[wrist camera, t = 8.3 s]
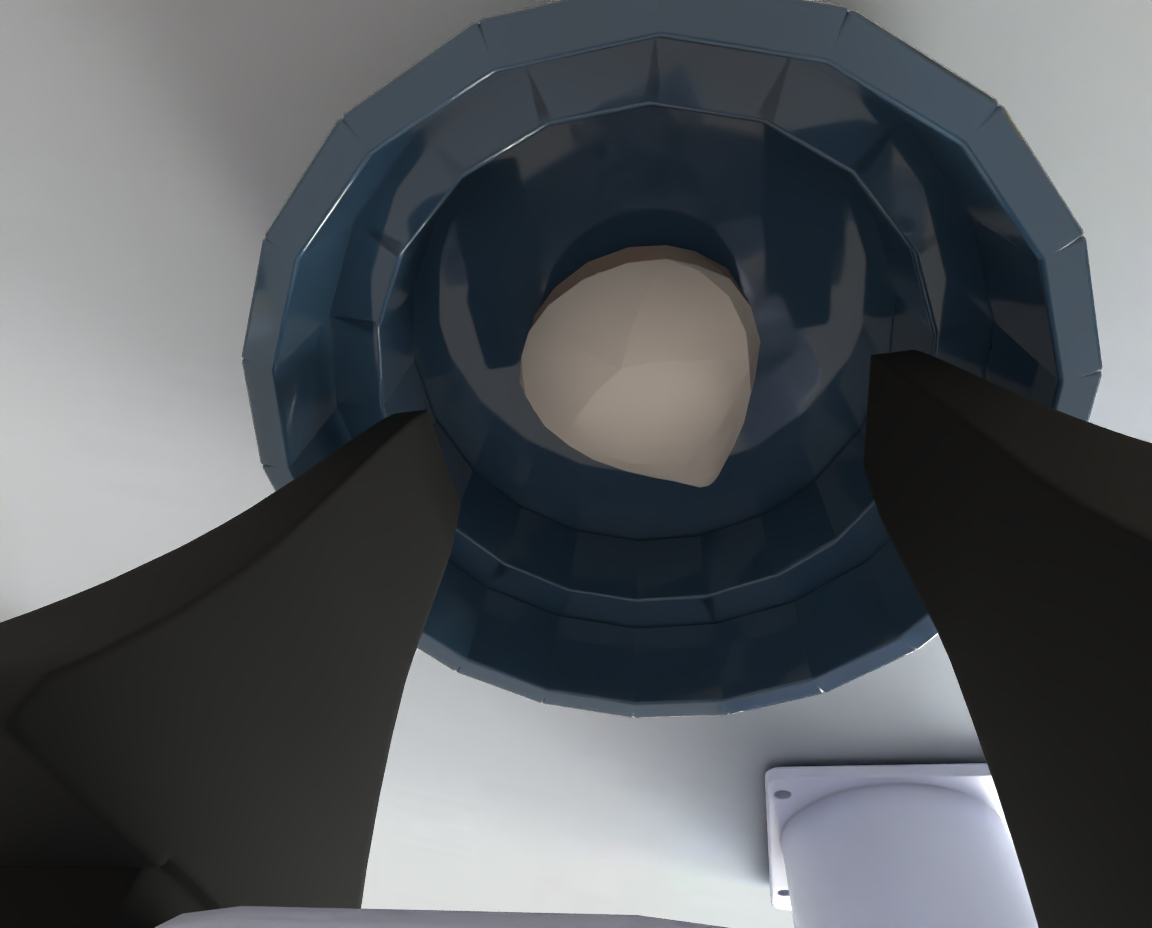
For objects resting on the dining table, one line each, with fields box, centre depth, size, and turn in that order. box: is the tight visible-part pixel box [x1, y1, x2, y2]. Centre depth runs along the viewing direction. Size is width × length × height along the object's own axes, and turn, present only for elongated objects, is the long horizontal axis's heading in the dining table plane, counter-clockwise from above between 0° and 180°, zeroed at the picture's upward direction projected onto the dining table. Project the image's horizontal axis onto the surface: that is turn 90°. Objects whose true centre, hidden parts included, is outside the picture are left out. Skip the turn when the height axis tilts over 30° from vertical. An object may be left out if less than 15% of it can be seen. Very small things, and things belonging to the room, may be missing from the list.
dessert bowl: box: [242, 0, 1102, 718], centre depth 12 cm, size 12×12×4 cm
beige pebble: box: [520, 245, 760, 487], centre depth 12 cm, size 4×5×2 cm
